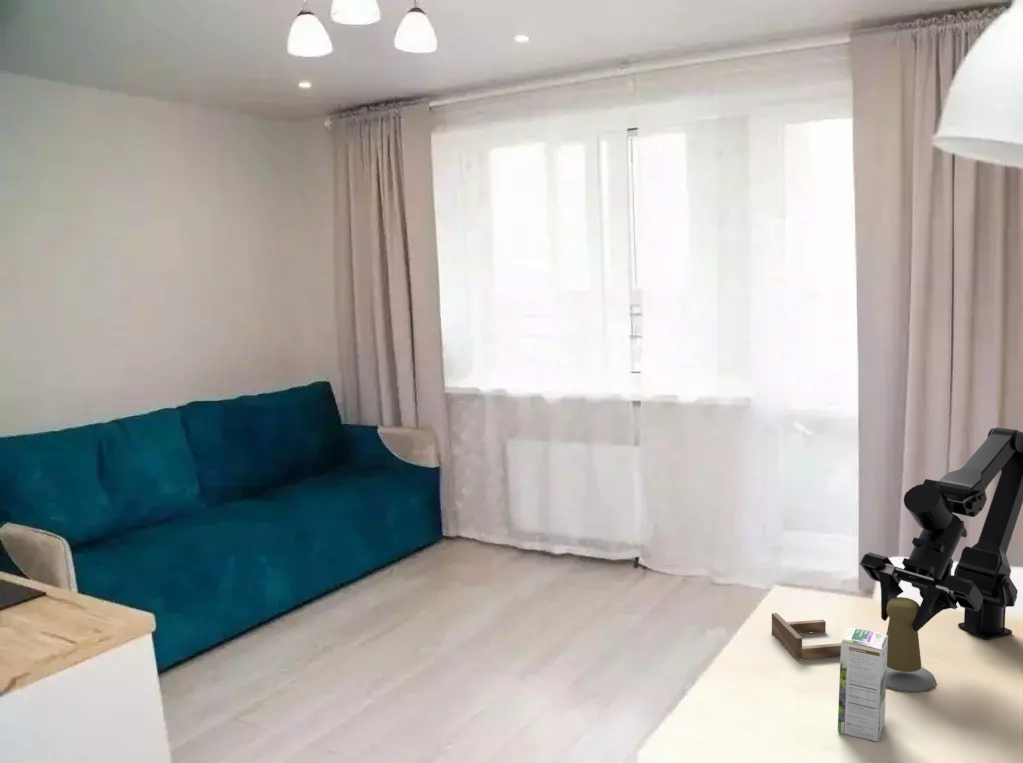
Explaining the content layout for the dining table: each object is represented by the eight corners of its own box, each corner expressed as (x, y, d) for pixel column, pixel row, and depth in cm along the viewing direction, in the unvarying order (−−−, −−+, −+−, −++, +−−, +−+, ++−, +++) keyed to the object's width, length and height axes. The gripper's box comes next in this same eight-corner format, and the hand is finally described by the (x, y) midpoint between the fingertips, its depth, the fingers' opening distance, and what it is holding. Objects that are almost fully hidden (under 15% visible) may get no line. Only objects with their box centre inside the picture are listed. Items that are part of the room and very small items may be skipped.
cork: (899, 651, 147) (902, 590, 145) (929, 666, 142) (932, 603, 140) (873, 659, 145) (875, 597, 143) (903, 675, 139) (906, 611, 137)
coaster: (902, 659, 150) (902, 656, 149) (949, 685, 140) (949, 682, 140) (855, 670, 146) (855, 667, 146) (900, 697, 137) (900, 694, 137)
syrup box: (844, 715, 132) (846, 625, 130) (886, 724, 129) (888, 632, 127) (837, 733, 127) (838, 640, 125) (880, 743, 124) (882, 648, 122)
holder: (823, 629, 162) (823, 609, 162) (851, 655, 152) (851, 634, 151) (771, 633, 161) (771, 613, 161) (796, 660, 151) (796, 638, 150)
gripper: (1008, 583, 143) (972, 667, 138) (901, 554, 157) (865, 628, 153) (987, 549, 137) (949, 635, 132) (877, 522, 152) (840, 598, 147)
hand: (898, 624), depth 141 cm, fingers closed on cork, 5 cm apart
